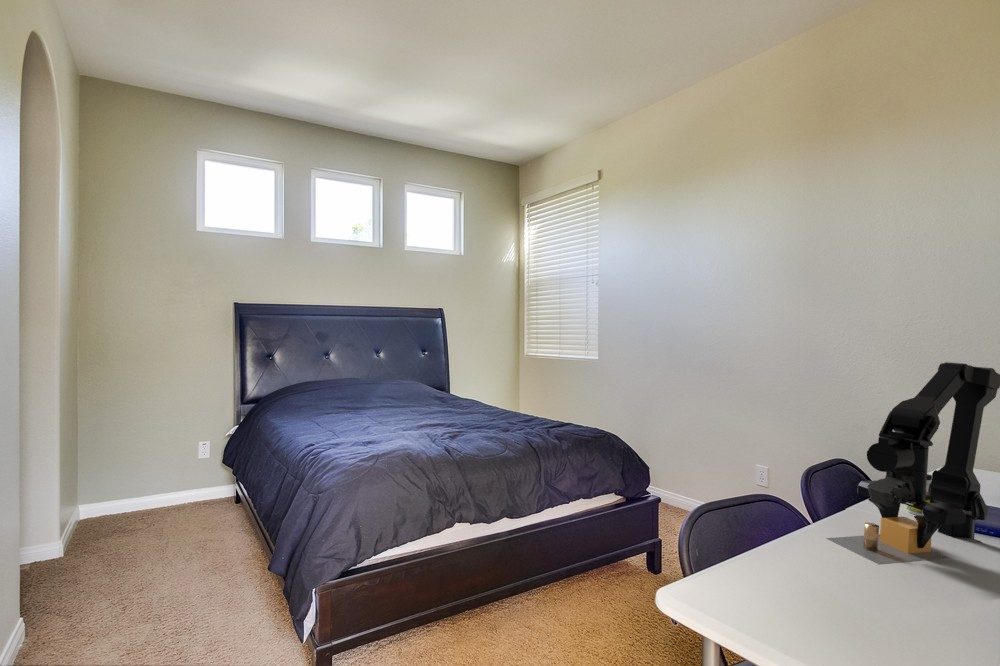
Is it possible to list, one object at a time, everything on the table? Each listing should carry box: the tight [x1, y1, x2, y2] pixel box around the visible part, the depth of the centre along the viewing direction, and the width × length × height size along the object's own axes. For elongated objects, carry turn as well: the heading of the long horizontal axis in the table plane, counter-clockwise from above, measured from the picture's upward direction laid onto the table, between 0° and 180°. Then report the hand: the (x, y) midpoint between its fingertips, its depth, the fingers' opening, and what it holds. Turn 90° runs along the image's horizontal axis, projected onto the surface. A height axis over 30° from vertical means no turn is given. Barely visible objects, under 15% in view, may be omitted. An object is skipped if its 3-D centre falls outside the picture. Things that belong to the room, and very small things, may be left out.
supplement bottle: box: [906, 480, 932, 516], centre depth 135 cm, size 5×5×10 cm
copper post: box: [863, 522, 880, 551], centre depth 108 cm, size 2×2×5 cm
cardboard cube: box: [879, 516, 932, 553], centre depth 110 cm, size 6×6×5 cm
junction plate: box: [825, 533, 950, 565], centre depth 109 cm, size 18×12×2 cm, turn 104°
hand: (904, 541), depth 110 cm, fingers closed on cardboard cube, 6 cm apart
